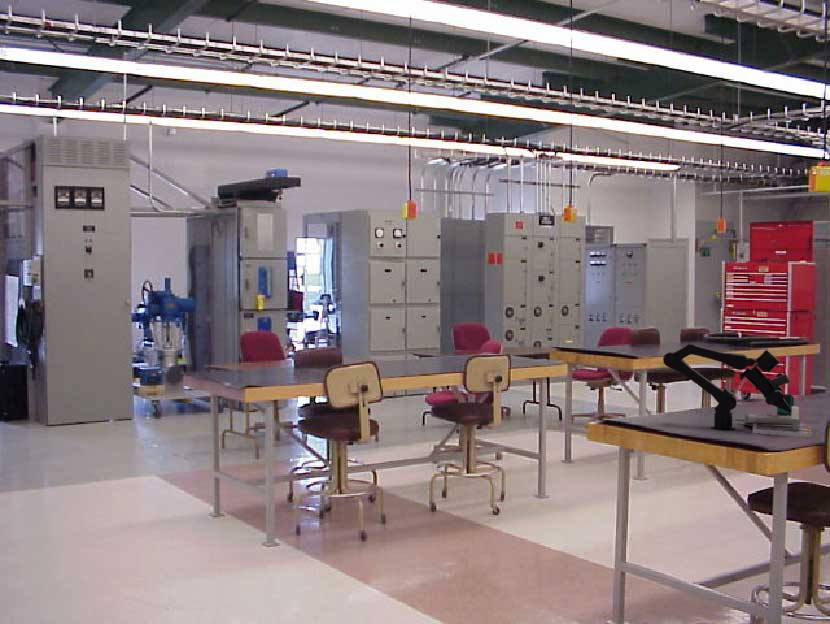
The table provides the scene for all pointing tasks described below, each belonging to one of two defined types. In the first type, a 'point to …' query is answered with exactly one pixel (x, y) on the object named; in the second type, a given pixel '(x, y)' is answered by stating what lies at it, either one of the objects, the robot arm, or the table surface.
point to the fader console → (782, 431)
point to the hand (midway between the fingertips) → (790, 411)
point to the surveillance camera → (790, 402)
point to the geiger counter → (767, 420)
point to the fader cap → (795, 417)
